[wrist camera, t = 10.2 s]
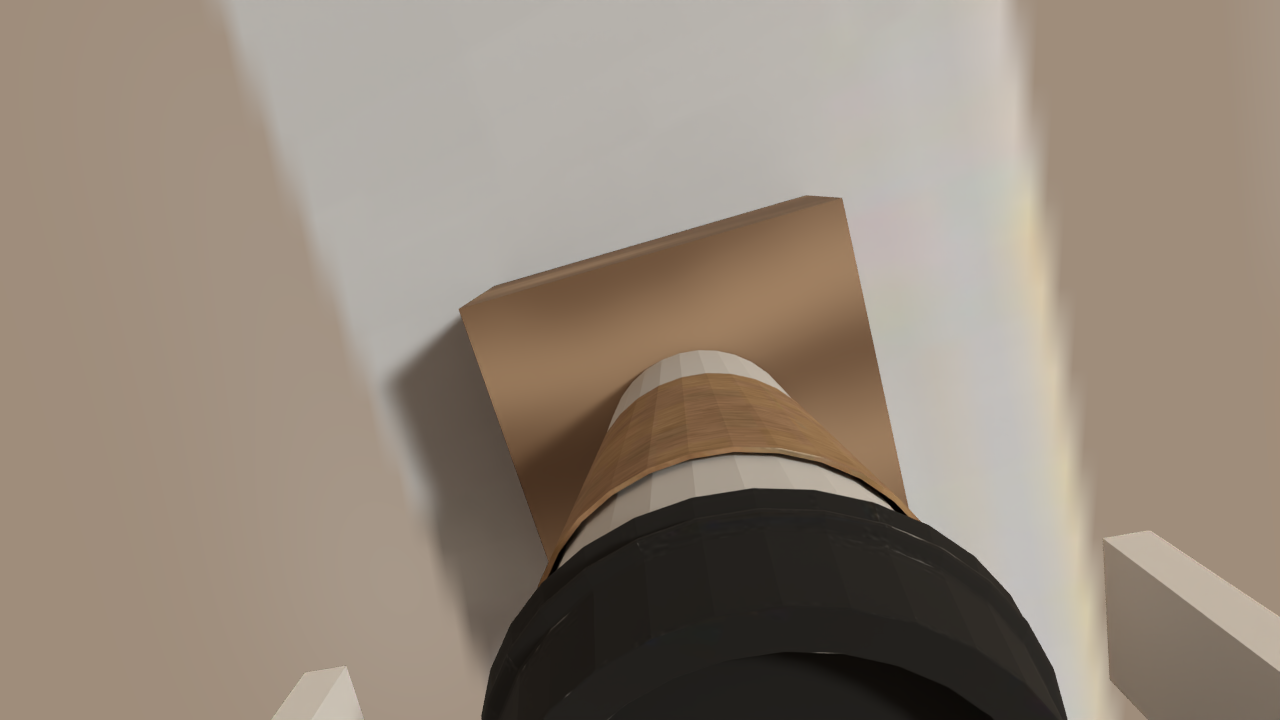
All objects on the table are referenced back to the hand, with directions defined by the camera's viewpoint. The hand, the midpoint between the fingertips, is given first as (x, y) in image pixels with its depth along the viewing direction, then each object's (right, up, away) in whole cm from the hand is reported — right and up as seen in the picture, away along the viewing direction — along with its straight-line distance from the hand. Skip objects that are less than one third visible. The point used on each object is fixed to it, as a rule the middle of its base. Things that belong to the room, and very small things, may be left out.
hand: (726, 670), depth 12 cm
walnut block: (0, +4, +15) cm, 16 cm away
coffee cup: (+1, +3, +10) cm, 11 cm away
